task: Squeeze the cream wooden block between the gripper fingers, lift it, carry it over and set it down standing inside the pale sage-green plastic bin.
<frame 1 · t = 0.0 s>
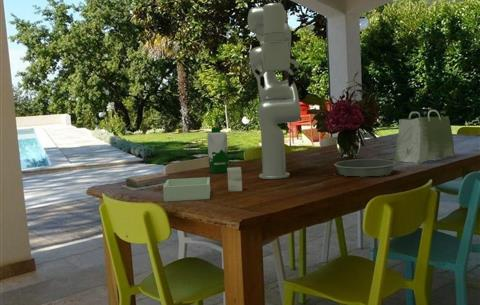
hand: (276, 87, 192), 37 cm above the table, tool pointing down, fingers open, 9 cm apart
packaged product: (147, 188, 213), on the table
grocery bag: (424, 159, 248), on the table
milk carton: (219, 172, 241), on the table
cake pan: (364, 174, 218), on the table
sage bin: (188, 195, 189), on the table
cream block: (235, 190, 196), on the table
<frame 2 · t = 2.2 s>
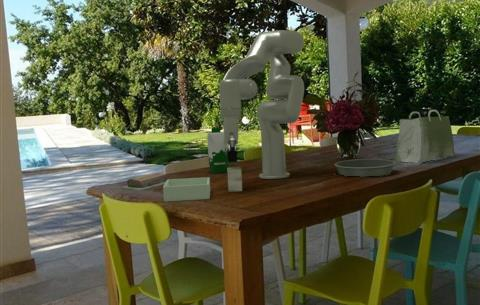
hand: (232, 160, 194), 11 cm above the table, tool pointing down, fingers open, 9 cm apart
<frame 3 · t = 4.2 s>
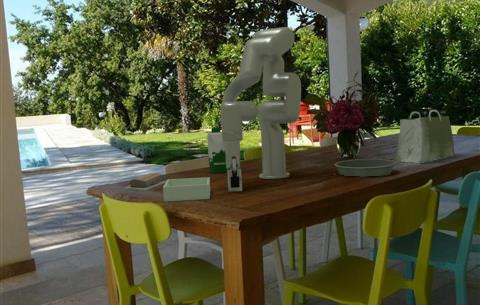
hand: (235, 185, 195), 2 cm above the table, tool pointing down, fingers closed on cream block, 5 cm apart
cream block: (235, 190, 196), on the table, touching gripper
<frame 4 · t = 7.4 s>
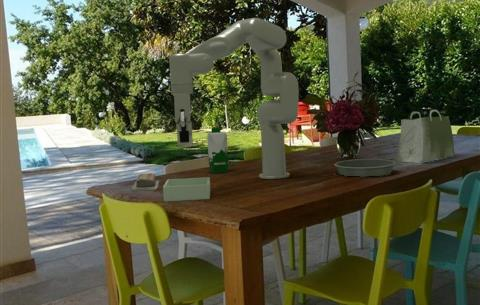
hand: (185, 141, 187), 20 cm above the table, tool pointing down, fingers closed on cream block, 5 cm apart
cream block: (185, 145, 187), point 18 cm above the table, touching gripper
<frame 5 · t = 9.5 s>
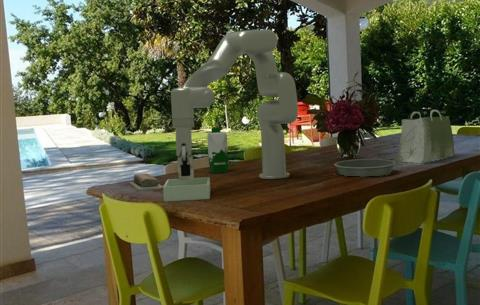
hand: (186, 174, 188), 8 cm above the table, tool pointing down, fingers closed on cream block, 5 cm apart
cream block: (186, 178, 188), point 6 cm above the table, touching gripper
when the fingers open (5 cm above the table, at t = 11.0 s): cream block drops 2 cm, resting on sage bin.
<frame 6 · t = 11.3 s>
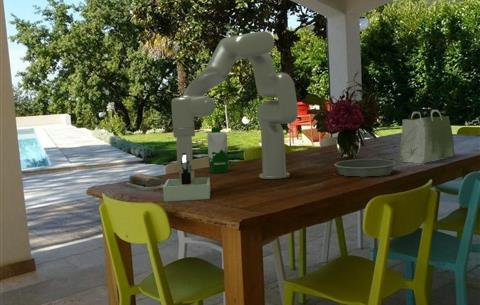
hand: (187, 181, 188), 5 cm above the table, tool pointing down, fingers open, 7 cm apart
cream block: (188, 193, 189), point 1 cm above the table, touching sage bin
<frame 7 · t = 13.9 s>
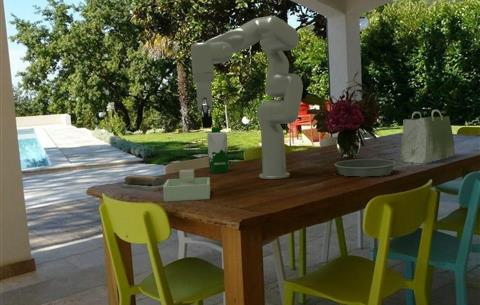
hand: (207, 126, 189), 24 cm above the table, tool pointing down, fingers open, 9 cm apart
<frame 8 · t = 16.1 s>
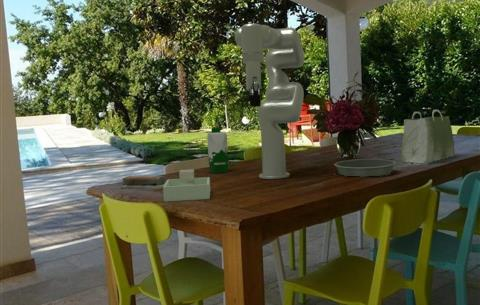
hand: (255, 106, 194), 30 cm above the table, tool pointing down, fingers open, 9 cm apart
at the end: cream block inside the target area on the sage bin (0.1 cm from its centre), point 1.0 cm above the sage bin's base; cream block tilted 0°; the gripper is holding nothing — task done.
